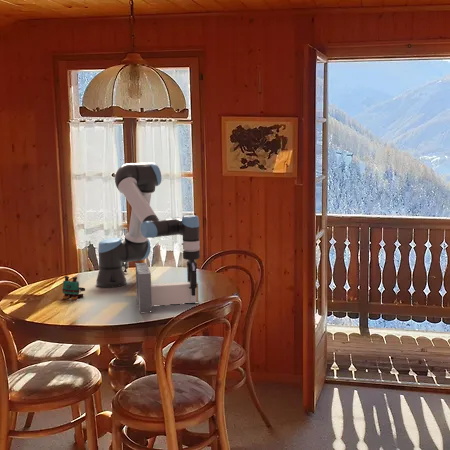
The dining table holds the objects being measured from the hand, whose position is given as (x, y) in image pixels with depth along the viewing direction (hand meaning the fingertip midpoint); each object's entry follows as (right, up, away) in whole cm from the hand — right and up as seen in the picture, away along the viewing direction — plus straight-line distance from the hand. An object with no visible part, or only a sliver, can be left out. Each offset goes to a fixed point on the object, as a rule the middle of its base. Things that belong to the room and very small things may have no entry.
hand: (192, 300), depth 282 cm
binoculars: (-57, 0, +13) cm, 58 cm away
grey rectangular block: (-9, -1, -2) cm, 9 cm away
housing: (-21, -2, -4) cm, 22 cm away
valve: (-46, +7, +66) cm, 81 cm away
